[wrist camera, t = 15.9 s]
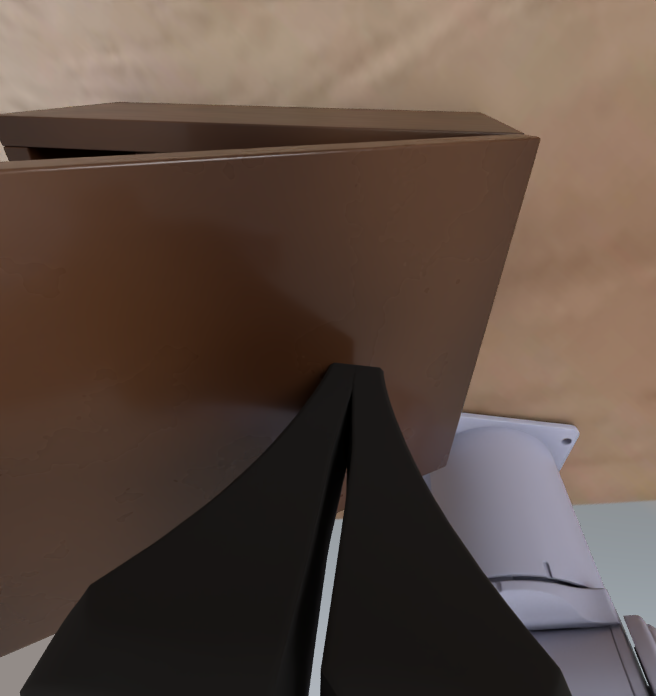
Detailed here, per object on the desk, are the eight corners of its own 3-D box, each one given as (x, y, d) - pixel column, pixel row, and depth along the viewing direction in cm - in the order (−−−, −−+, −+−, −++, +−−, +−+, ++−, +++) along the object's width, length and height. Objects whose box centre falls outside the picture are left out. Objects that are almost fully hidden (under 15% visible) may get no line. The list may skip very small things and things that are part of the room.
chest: (175, 336, 23) (111, 411, 18) (117, 101, 16) (-12, 114, 11) (430, 361, 21) (440, 452, 16) (481, 112, 15) (525, 133, 10)
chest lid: (-25, 642, 11) (-32, 672, 10) (-601, 192, 4) (-707, 211, 3) (435, 453, 16) (446, 466, 16) (518, 133, 9) (542, 137, 9)
